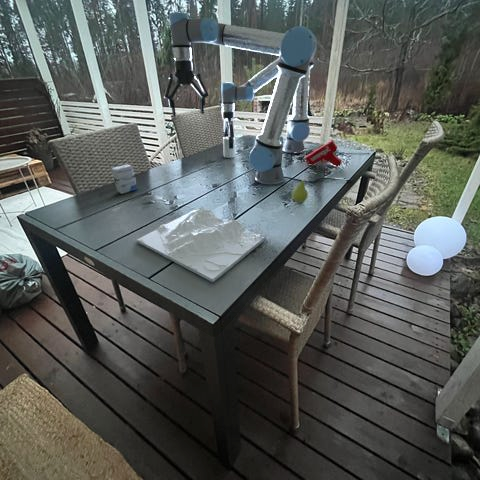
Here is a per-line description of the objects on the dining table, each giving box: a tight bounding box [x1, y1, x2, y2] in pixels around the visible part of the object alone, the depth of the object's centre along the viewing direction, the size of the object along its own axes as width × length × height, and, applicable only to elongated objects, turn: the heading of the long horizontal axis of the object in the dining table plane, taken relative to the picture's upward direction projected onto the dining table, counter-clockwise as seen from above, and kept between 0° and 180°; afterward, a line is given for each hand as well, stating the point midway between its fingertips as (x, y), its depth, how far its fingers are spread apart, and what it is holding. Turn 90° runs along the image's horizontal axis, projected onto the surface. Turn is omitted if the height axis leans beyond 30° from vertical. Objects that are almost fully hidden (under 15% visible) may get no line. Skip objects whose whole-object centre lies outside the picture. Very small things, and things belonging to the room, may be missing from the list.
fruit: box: [291, 174, 311, 204], centre depth 118 cm, size 7×8×12 cm
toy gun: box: [304, 139, 342, 169], centre depth 162 cm, size 18×4×15 cm
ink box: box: [110, 164, 138, 195], centre depth 131 cm, size 8×5×12 cm, turn 135°
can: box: [222, 136, 236, 159], centre depth 181 cm, size 8×8×12 cm
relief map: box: [136, 206, 266, 283], centre depth 93 cm, size 27×35×5 cm
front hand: (188, 114), depth 127 cm, fingers open, 13 cm apart
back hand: (228, 146), depth 180 cm, fingers open, 13 cm apart
